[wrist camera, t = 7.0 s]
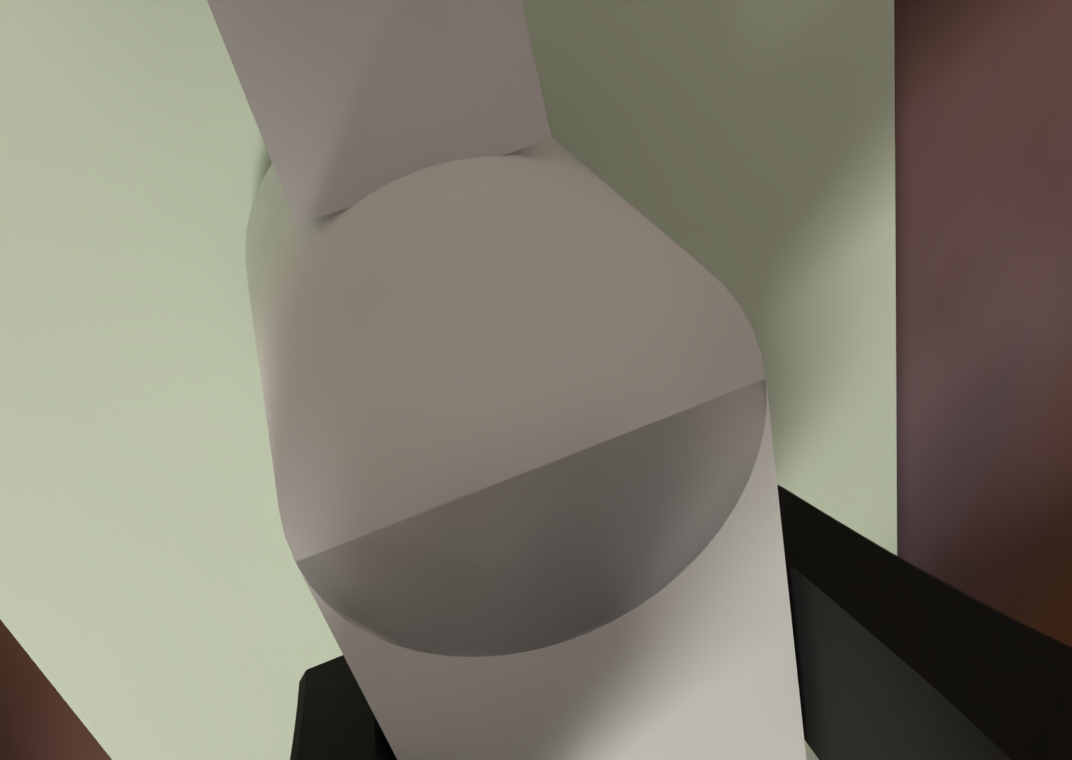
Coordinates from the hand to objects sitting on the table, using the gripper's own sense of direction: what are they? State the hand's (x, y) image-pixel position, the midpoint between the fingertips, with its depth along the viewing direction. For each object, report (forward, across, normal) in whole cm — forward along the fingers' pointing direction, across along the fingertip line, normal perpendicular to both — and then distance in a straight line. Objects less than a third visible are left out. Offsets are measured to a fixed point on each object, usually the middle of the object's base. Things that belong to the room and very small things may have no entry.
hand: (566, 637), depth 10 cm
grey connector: (+2, 0, -1) cm, 3 cm away
